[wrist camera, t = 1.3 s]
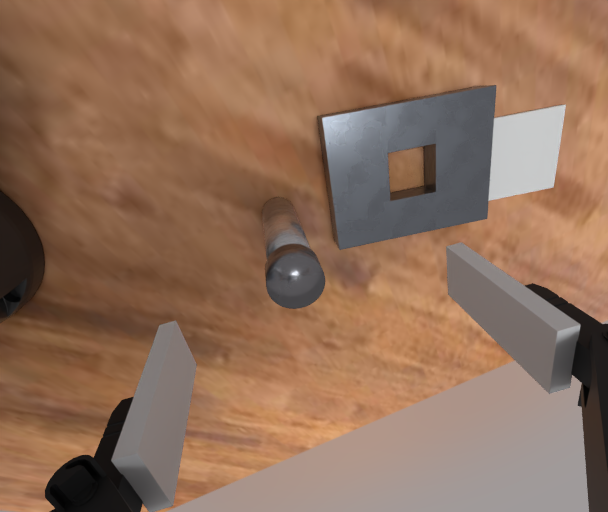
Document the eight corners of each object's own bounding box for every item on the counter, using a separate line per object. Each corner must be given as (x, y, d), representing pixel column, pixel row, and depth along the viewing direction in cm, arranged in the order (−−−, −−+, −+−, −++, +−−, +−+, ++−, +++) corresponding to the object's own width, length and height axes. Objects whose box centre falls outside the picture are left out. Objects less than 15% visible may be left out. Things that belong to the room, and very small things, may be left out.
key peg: (264, 234, 35) (272, 313, 22) (256, 199, 33) (260, 263, 21) (299, 226, 35) (328, 301, 22) (293, 191, 33) (320, 250, 21)
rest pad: (478, 201, 37) (480, 202, 36) (482, 119, 33) (485, 120, 33) (550, 186, 37) (553, 187, 37) (562, 104, 34) (565, 104, 33)
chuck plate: (334, 240, 36) (339, 249, 34) (317, 116, 31) (322, 117, 29) (473, 211, 37) (487, 218, 35) (479, 85, 32) (496, 85, 30)
